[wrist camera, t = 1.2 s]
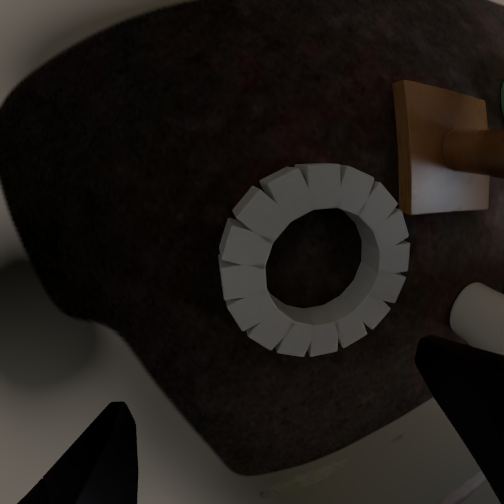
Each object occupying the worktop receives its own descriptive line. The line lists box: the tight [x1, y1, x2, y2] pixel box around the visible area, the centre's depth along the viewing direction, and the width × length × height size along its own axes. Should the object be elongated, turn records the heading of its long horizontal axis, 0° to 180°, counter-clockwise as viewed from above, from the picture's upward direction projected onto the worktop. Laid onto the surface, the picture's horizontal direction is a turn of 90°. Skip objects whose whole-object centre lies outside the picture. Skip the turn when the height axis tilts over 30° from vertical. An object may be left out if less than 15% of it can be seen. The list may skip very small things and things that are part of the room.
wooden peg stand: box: [392, 80, 504, 215], centre depth 15 cm, size 9×9×8 cm
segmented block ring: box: [218, 163, 410, 357], centre depth 18 cm, size 12×12×2 cm
